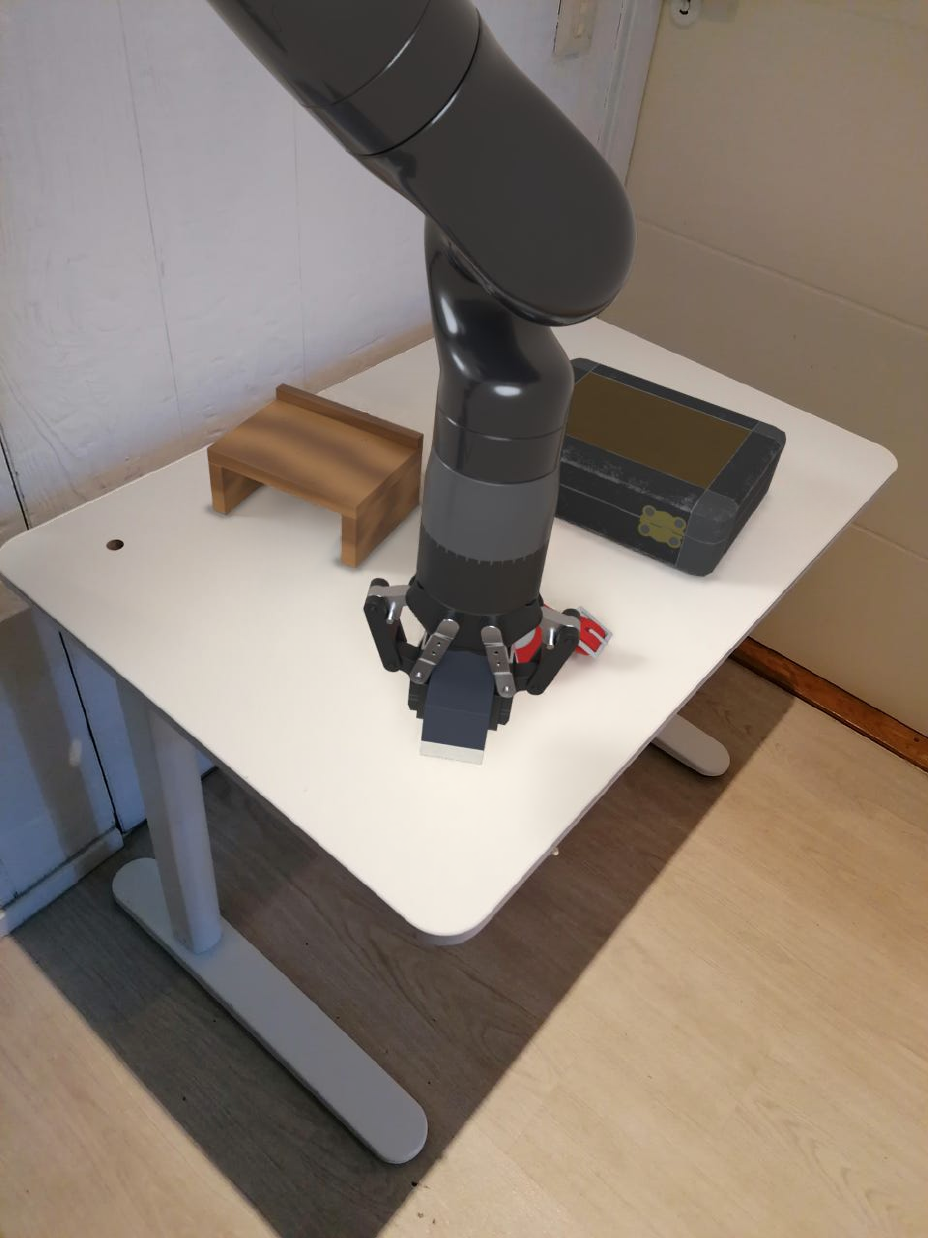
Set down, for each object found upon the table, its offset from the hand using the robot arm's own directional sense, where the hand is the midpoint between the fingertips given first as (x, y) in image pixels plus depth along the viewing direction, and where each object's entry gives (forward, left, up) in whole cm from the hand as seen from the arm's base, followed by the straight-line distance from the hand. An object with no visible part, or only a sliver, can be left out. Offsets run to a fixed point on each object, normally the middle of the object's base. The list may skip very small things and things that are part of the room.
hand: (458, 715), depth 67 cm
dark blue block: (+1, +1, -1) cm, 1 cm away
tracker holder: (+16, +1, -8) cm, 18 cm away
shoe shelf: (+23, +27, -7) cm, 36 cm away
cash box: (+44, +2, -8) cm, 45 cm away
